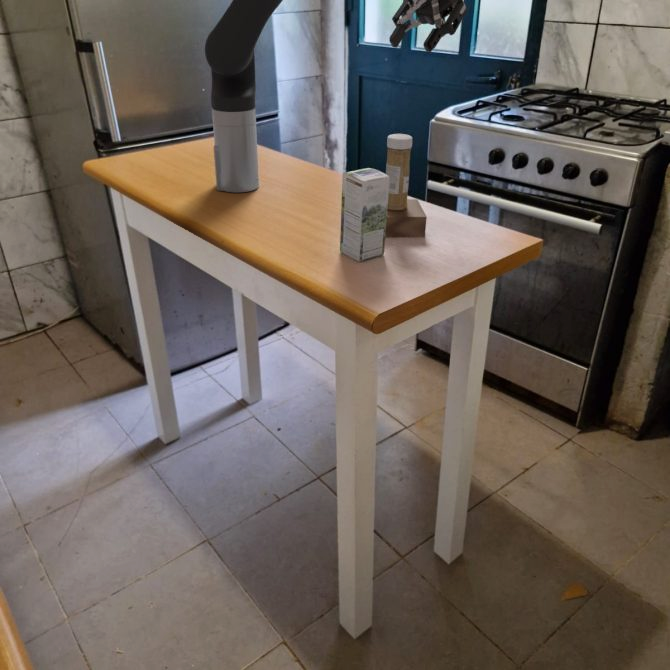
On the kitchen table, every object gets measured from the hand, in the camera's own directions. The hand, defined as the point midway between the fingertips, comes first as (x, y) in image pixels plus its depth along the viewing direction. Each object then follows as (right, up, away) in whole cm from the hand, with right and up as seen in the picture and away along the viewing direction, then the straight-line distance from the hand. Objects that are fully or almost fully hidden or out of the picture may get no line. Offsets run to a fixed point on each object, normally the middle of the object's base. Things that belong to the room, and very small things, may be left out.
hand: (409, 46), depth 120 cm
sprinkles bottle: (-3, -31, +1) cm, 31 cm away
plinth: (-3, -34, +3) cm, 34 cm away
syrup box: (-9, -41, -9) cm, 43 cm away
